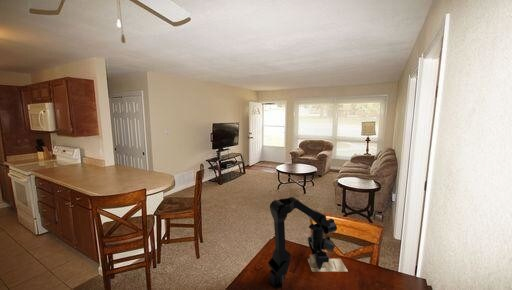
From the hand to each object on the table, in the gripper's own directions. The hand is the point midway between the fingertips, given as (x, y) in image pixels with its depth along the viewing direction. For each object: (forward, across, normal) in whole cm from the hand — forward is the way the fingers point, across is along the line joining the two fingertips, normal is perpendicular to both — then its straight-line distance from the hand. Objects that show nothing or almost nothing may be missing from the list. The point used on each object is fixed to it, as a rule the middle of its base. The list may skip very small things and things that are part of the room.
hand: (317, 263), depth 114 cm
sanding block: (+1, 0, 0) cm, 1 cm away
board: (+2, 0, -5) cm, 5 cm away
